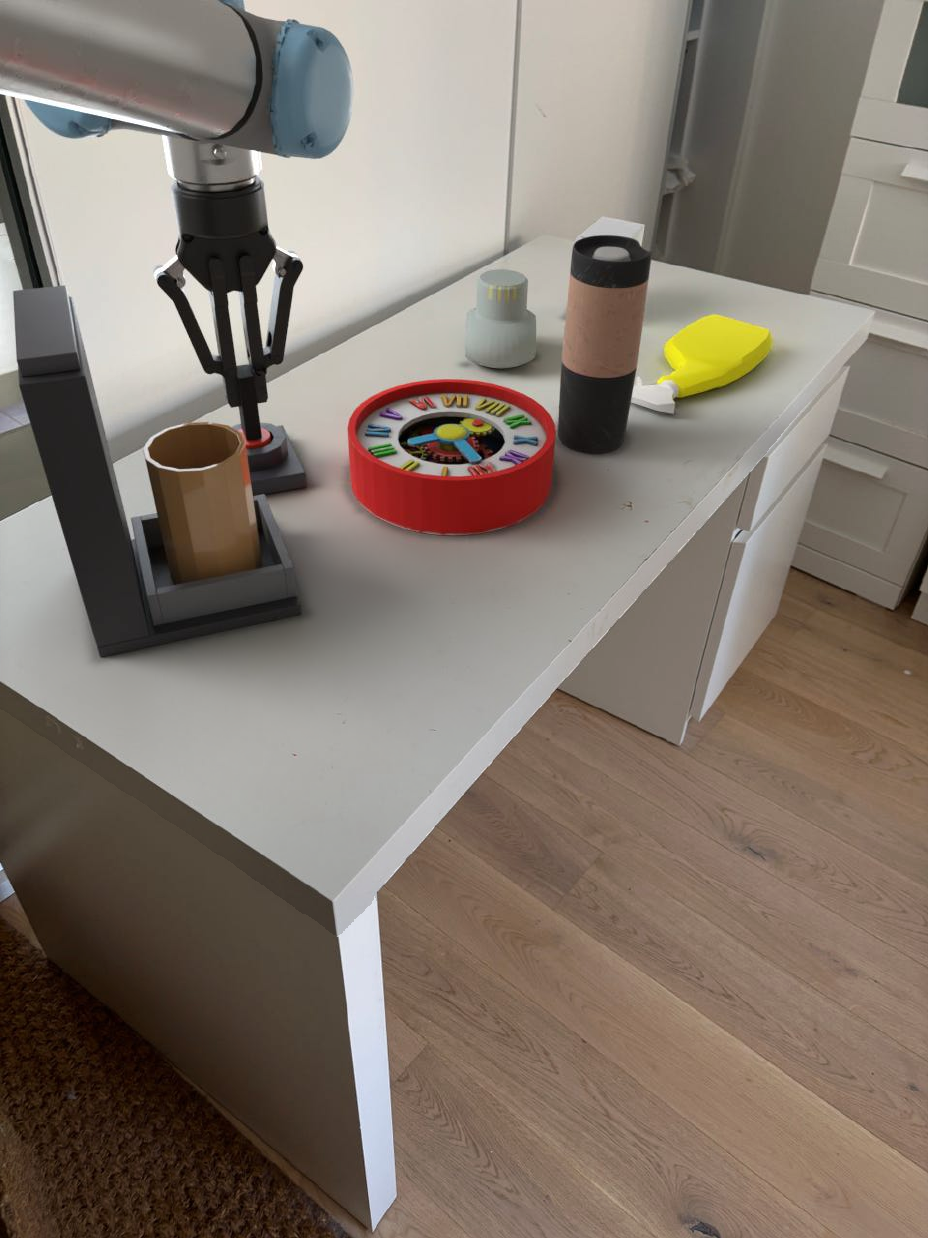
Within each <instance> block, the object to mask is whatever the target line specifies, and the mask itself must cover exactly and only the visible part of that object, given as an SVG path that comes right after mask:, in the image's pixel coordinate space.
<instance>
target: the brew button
mask: <svg viewBox="0 0 928 1238" xmlns="http://www.w3.org/2000/svg"><path fill="white" fill-rule="evenodd" d="M238 432H240V433H241V434H242V436H243V439H244V441H245V444H246V449H256V448H262V447H264V446H266V445H268V444H270V443H271V437H270V433H269V431H267V430H266V429H264V428H261V433H262V438H261V439H255V440H249V441H247V440H246V437H245V435H244V432H243V430H242V429H241V430H239V431H238Z"/></svg>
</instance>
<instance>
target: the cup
mask: <svg viewBox="0 0 928 1238" xmlns="http://www.w3.org/2000/svg"><path fill="white" fill-rule="evenodd" d="M232 427H233V426H230V425H227V424H222V423H217V422H211V421H199V422H186V423H185V422H184V423H182V424H177V425H174V426H170V427H166V428H165V429H163V430H161V431H159V432H157V433H156V434H154V435H152V436H150V437H149V438H148V440H147V441H146V443H145V445H144V446H143V448H142V451H143V457H144V462H145V466H146V470H147V475H148V479H149V485H150V489H151V492H152V498H153V502H154V506H155V511H156V513H157V516H158V521H159V525H160V530H161V534H162V539H163V544H164V548H165V553H166V557H167V562H168V566H169V571H170V575H171V579H172V582H173V583H174V585H178V584H183V583H188V582H193V581H198V580H203V579H208V578H213V577H218V576H223V575H228V574H233V573H239V572H244V571H249V570H254V569H259V568H262V557H261V550H260V543H259V536H258V529H257V522H256V515H255V508H254V501H253V494H252V487H251V479H250V472H249V465H248V458H247V451H246V444H245V441H244V439H243V436H242V434H241V433H240V432H238V431H237V430H235V429H233V428H232Z"/></svg>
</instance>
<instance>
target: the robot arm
mask: <svg viewBox="0 0 928 1238" xmlns="http://www.w3.org/2000/svg"><path fill="white" fill-rule="evenodd" d="M0 95H4V96H8V97H13V98H17V99H21V100H24V102H25V104H26V106H27V107H28V109H29V110H30V112H31V113H32V114H33V115H34V117H35V118H36V119H37V120H38V121H39V122H40V123H41V124H42V125H43V126H44V127H45V128H46V129H48V130H49V131H50V132H52V133H53V134H55V135H58V136H59V137H62V138H65V139H70V140H81V139H86V138H89V137H90V138H91V137H95V138H102V137H104V136H105V135H107V134H109V132H111V131H116V130H117V131H118V130H128V131H135V132H141V133H146V134H152V135H156V136H157V135H158V136H161V137H162V142H163V149H164V154H165V160H166V166H167V173H168V175H169V176H170V177H171V178H173V179H174V180H173V183H172V184H171V186H170V191H171V196H172V201H173V202H172V203H173V207H174V214H175V221H176V227H177V231H178V238H177V242H176V244H175V247H174V248H175V249H174V252H175V256H173V257H172V258H171V259H170V260H169V261H168V262H167V263H165V264H164V265H162V264H158V265H156V266H155V267H154V268H153V271H152V272H153V277H154V279H155V281H156V283H157V285H158V287H159V288H160V289H161V291H163V293H165V294H166V296H167V297H168V298H169V299H170V300H171V301H172V302H173V305H174V307H175V309H176V311H177V313H178V316H179V318H180V320H181V322H182V325H183V327H184V329H185V332H186V334H187V336H188V338H189V341H190V343H191V345H192V347H193V350H194V352H195V354H196V356H197V358H198V360H199V363H200V366H201V368H202V370H203V371H204V373H205V374H207V375H214V374H217V375H220V376H221V377H222V383H223V390H224V395H225V399H226V401H227V404H228V405H229V407H230V408H231V409H232V408H233V409H234V408H237V407H238V411H239V412H238V413H239V418H240V424H241V427H242V430H243V432H244V435H245V437H246V440H247V441H249V440H255V439H261V438H262V433H261V426H260V423H261V419H260V411H259V404H264V403H267V402H268V398H269V393H268V386H267V377H266V375H267V373H268V368H270V367H271V366H273V365H275V366H279V365H281V364H282V363H283V362H284V358H285V351H286V344H287V338H288V337H287V336H288V329H289V324H290V323H289V322H290V317H291V316H290V315H291V309H292V303H293V295H294V287H295V286H296V284H297V282H298V280H299V278H300V276H301V274H302V272H303V269H304V263H303V262H302V260H301V259H300V258H299V256H298V254H297V253H296V252H295V251H293V250H288V251H287V250H285V249H284V248H281V247H279V246H278V245H277V243H276V240H275V238H274V237H273V236H272V234H271V232H270V228H269V222H268V221H269V219H268V212H267V202H266V193H265V184H264V181H263V180H262V179H261V178H260V177H259V176H258V175H259V174H260V173H261V172H262V170H263V165H262V158H261V153H264V154H269V155H274V156H277V157H281V158H285V159H290V158H291V157H292V158H302V159H310V160H317V159H318V160H319V159H323V158H324V157H325V158H326V157H327V156H329V155H331V154H332V153H333V152H334V151H336V149H337V148H338V147H339V146H340V144H341V143H342V141H343V140H344V138H345V135H346V133H347V131H348V127H349V125H350V121H351V118H352V105H353V98H354V80H353V73H352V67H351V63H350V59H349V56H348V54H347V52H346V50H345V48H344V46H343V44H342V42H341V41H340V40H339V38H338V37H337V36H336V35H335V34H334V33H333V32H331V31H330V30H328V29H326V28H324V27H321V26H316V25H311V24H305V23H300V22H299V21H298V20H297V19H291V18H290V19H289V18H287V20H286V21H285V20H276V19H271V18H265V17H262V16H258V15H256V14H253V13H251V12H249V11H246V8H245V2H244V0H0ZM271 263H272V269H273V271H274V273H275V274H274V279H273V286H272V293H271V301H270V308H269V309H270V310H269V315H268V316H269V317H268V324H267V333H266V340H265V347H263V346H264V345H263V338H262V330H261V322H260V314H259V313H260V312H259V307H258V302H259V300H258V291H257V286H258V285H259V284H260V282H261V281H262V279H263V277H264V276H265V273H266V271H267V270H268V268H269V266H270V264H271ZM185 270H186V271H187V272H188V273H189V275H191V276H192V277H193V278H194V279H195V280H196V281H197V282H198V283H199V285H200V286H202V287H203V289H205V290H206V291H207V292H208V295H209V301H210V306H211V307H210V308H211V313H212V314H211V315H212V319H213V320H212V321H213V328H214V333H215V334H214V335H215V341H216V347H217V348H216V349H217V354H214V353H213V354H212V352H211V350H210V348H209V344H208V343H207V340H206V338H205V336H204V333H203V331H202V329H201V326H200V324H199V322H198V320H197V319H198V318H197V317H196V315H195V313H194V311H193V307H192V306H191V304H190V301H189V299H188V296H187V293H186V292H185V289H184V287H185V286H186V282H187V281H186V277H185V275H184V271H185ZM232 292H237V294H238V300H239V307H240V314H241V321H242V329H243V337H244V345H245V351H246V352H245V353H246V358H247V361H248V364H247V363H246V364H241V365H237V360H236V354H235V353H236V352H235V351H236V350H235V345H234V339H233V337H234V336H233V331H232V323H231V316H230V309H229V297H228V295H229V293H232Z"/></svg>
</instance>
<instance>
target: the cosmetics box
mask: <svg viewBox="0 0 928 1238" xmlns="http://www.w3.org/2000/svg"><path fill="white" fill-rule="evenodd" d="M644 231H645V224H642V223H638V222H634V221H628V220H624V219H618V218H614V217H608V216H601V217H600V218H598V219H597V220H596V221H595V222H594V223H592V224H591V225H590V226H589V227H588V228H586V229H585V230H584V231H583V232H581V234H579V235H578V236H576V237H575V239H574V243H575V242H577V241H578V240H580V239H582V238H585V237H590V236H597V235H615V236H624V237H629V238H633V239H635V240H637V241H638V242H639V244H640V246H641V247H642V245H643V237H644Z"/></svg>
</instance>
